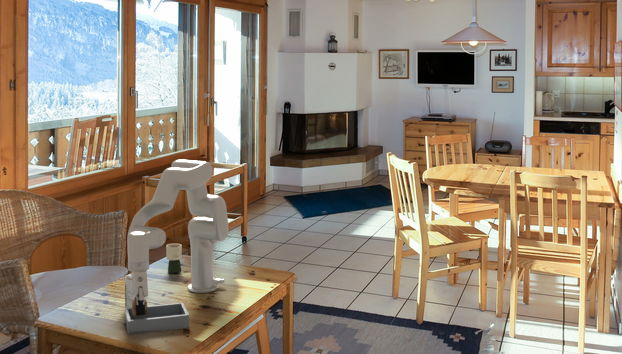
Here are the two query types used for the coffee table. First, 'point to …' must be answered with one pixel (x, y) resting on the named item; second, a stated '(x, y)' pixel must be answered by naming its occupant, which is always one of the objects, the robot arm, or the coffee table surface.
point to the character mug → (174, 257)
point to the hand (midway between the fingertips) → (139, 311)
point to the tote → (157, 319)
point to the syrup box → (128, 291)
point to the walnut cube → (136, 304)
